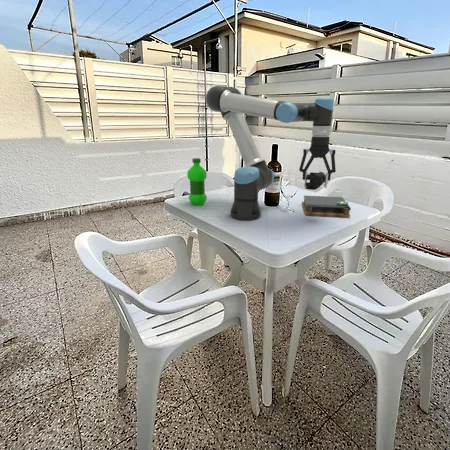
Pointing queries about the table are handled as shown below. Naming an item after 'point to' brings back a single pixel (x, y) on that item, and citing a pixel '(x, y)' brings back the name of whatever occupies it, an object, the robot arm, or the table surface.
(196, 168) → the plastic bottle
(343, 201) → the tilting plate
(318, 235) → the table surface
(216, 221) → the table surface
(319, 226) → the table surface
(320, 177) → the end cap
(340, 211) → the walnut stand
